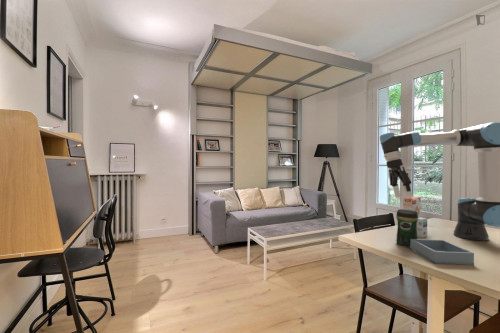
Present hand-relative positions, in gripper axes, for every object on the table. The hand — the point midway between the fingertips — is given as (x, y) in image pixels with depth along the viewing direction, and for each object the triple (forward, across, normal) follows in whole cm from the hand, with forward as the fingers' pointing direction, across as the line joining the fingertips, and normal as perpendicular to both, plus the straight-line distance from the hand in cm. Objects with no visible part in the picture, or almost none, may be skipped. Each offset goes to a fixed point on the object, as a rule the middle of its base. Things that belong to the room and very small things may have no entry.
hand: (403, 197), depth 129 cm
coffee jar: (+24, +1, -5) cm, 25 cm away
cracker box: (+24, -34, +13) cm, 44 cm away
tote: (+28, +16, +2) cm, 32 cm away
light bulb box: (+25, -20, +9) cm, 33 cm away
